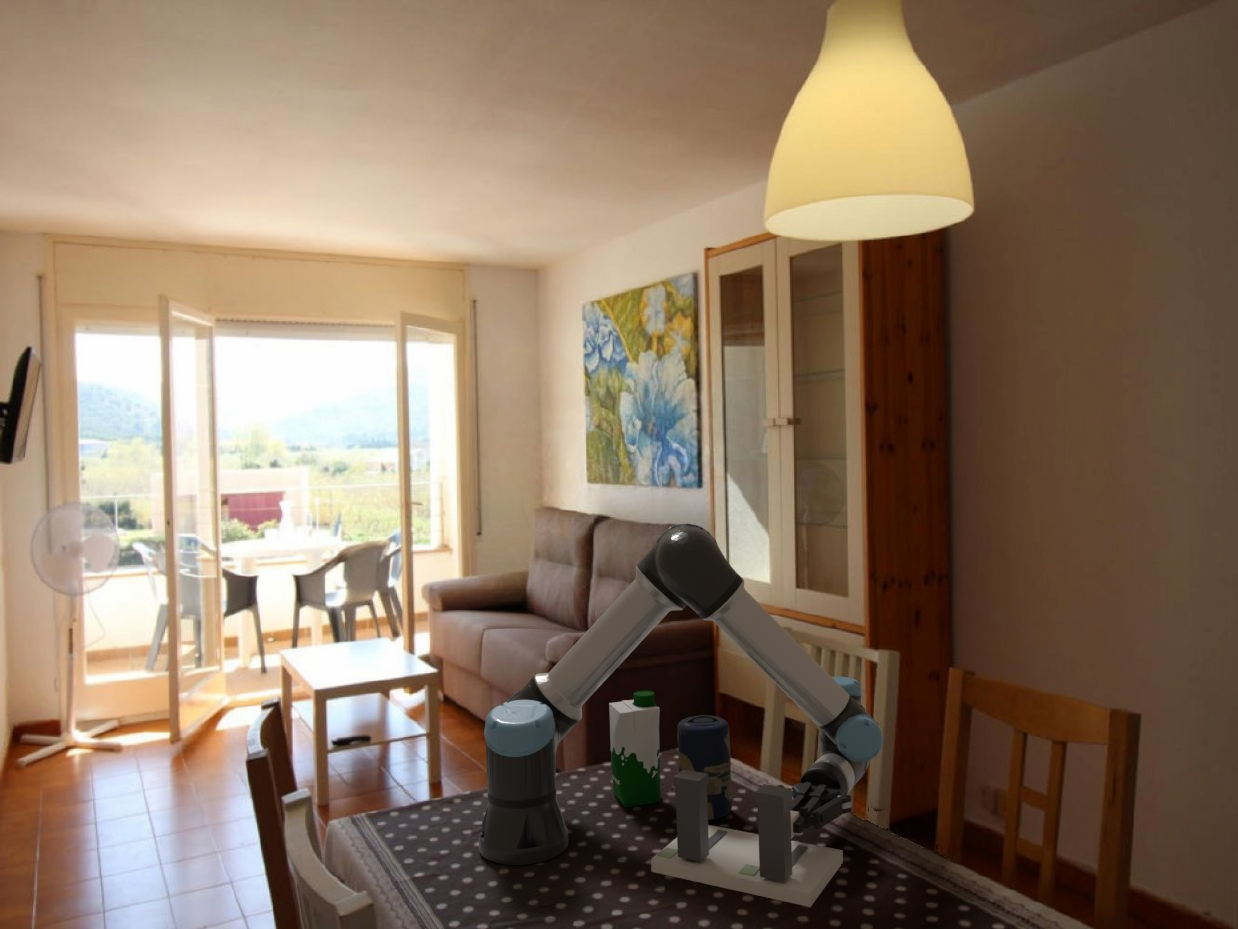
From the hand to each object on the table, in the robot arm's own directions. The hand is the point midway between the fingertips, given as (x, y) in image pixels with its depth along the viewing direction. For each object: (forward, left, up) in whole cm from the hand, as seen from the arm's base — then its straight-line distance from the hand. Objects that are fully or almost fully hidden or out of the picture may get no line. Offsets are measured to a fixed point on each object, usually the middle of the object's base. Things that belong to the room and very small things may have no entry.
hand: (781, 835), depth 143 cm
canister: (-22, +21, -8) cm, 32 cm away
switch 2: (0, -2, -5) cm, 6 cm away
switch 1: (-14, -1, -5) cm, 15 cm away
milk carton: (-37, +22, -8) cm, 44 cm away
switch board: (-7, +4, -8) cm, 12 cm away
